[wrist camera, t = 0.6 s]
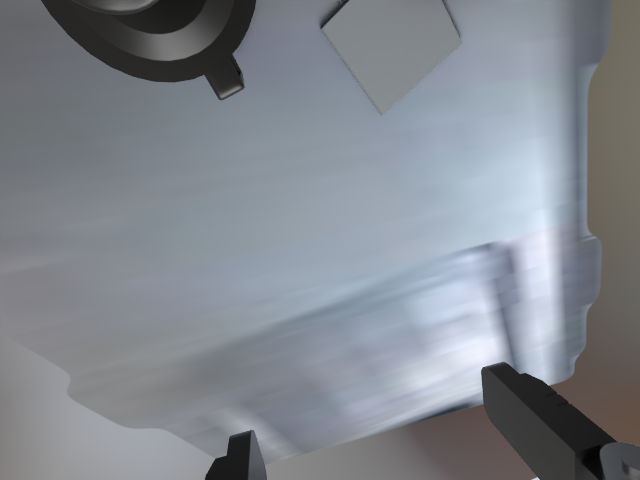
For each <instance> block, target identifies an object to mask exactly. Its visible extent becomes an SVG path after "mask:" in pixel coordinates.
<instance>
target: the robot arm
mask: <svg viewBox="0 0 640 480" xmlns="http://www.w3.org/2000/svg"><path fill="white" fill-rule="evenodd" d="M481 375H482V388H483V401H484V407H485V410H486V413H487V415H488V417H489V419H490V420H491V422H492V423H493V424H494V426H495V427H496V428H497V429H498V430H499V432H500V433H501V434H502V435H503V436H504V437H505V439H506V440H507V441H508V442H509V443H510V445H511V446H512V447H513V448H514V449H515V451H516V452H517V453H518V454H519V455H520V456H521V458H522V459H523V460H524V461H525V462H526V464H527V465H528V466H529V467H530V468H531V470H532V471H533V472H534V473H535V474H536V476H537V477H538V478H539V479H540V480H640V447H639V446H636V445H633V444H629V443H623V442H617V441H616V440H614V439H613V438H612V437H611V436H609V435H608V434H607V433H606V432H605V431H603V430H602V429H601V428H599V427H598V426H597V425H596V424H594V422H592V421H591V420H590V419H588V418H587V417H586V416H585V415H584V414H582V413H581V412H580V411H579V410H578V409H576V408H575V407H574V406H572V405H571V404H569V403H568V401H567V400H565V399H564V398H563V397H562V396H560V395H558V394H557V392H556V391H554V390H553V389H552V388H551V387H549V386H548V385H547V384H546V383H545V382H543V381H542V380H539V379H537V378H535V377H533V376H531V375H529V374H527V373H523V374H519V373H518V372H517V371H516V370H514V369H513V368H512V367H511V366H510V365H509V364H507V363H506V362H501V363H497V364H493V365H490V366H486V367H483V368H482V370H481ZM205 480H267V475H266V469H265V465H264V462H263V458H262V455H261V452H260V448H259V445H258V442H257V438H256V435H255V432H254V430H250V431H247V432H243V433H239V434H236V435H232V436H230V438H229V443H228V450H227V456H224V457H220V458H217V459H215V461H214V462H213V464H212V466H211V467H210V469H209V471H208V473H207V474H206V477H205Z"/></svg>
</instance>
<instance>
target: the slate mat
mask: <svg viewBox="0 0 640 480" xmlns="http://www.w3.org/2000/svg"><path fill="white" fill-rule="evenodd" d="M321 31H322V32H323V33H324V35H325V36H326V38H327V39H328V40H329V42H330V43H331V45H332V46H333V48H334V49H335V50H336V52H337V53H338V55H339V56H340V57H341V59H342V60H343V62H344V63H345V65H346V66H347V67H348V69H349V70H350V72H351V73H352V74H353V76H354V77H355V79H356V80H357V82H358V83H359V84H360V86H361V87H362V89H363V90H364V91H365V93H366V94H367V96H368V97H369V99H370V100H371V101H372V103H373V104H374V106H375V107H376V108H377V110H378V111H379V113H380V114H381V115H384V114H385V113H386V112H387V111H388V110H389V109H390V108H391V107H392V106H394V105H395V104H396V103H397V102H398V101H399V100H400V99H401V98H402V97H403V96H405V95H406V94H407V93H408V92H409V91H410V90H411V89H412V88H413V87H414V86H416V85H417V84H418V83H419V82H420V81H421V80H422V79H423V78H424V77H425V76H427V75H428V74H429V73H430V72H431V71H432V70H433V69H434V68H435V67H436V66H438V65H439V64H440V63H441V62H442V61H443V60H444V59H445V58H446V57H447V56H449V55H450V54H451V53H452V52H453V51H454V50H455V49H456V48H457V47H458V46H460V45H461V44H462V41H461V39H460V37H459V35H458V33H457V31H456V29H455V27H454V24H453V22H452V20H451V18H450V16H449V14H448V12H447V10H446V8H445V6H444V4H443V2H442V0H348V1H347V2H346V3H345V4H344V5H343V6H342V7H341V8H340V9H339V10H338V11H337V12H336V14H335V15H334V16H333V17H332V18H331V19H330V20H329V21H328V22H327V23H326V24H325V25H324V26H323V27H322V28H321Z"/></svg>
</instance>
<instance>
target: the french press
mask: <svg viewBox="0 0 640 480" xmlns="http://www.w3.org/2000/svg"><path fill="white" fill-rule="evenodd" d="M41 1H42V2H43V4H44V5H45V7H46V8H47V10H48V11H49V13H50V14H51V16H52V17H53V18H54V19H55V20H56V21H57V22H58V24H59V25H60V26H61V27H62V28H63V29H64V30H65V32H66V33H67V34H68V35H69V36H70V37H71V38H72V39H73V40H75V41H76V42H77V43H78V44H79V45H80V46H82V47H83V48H84V49H85V50H86V51H87V52H89V53H90V54H91V55H93V56H94V57H96V58H98V59H99V60H101V61H102V62H104V63H105V64H107V65H109V66H110V67H112V68H114V69H117V70H119V71H121V72H124V73H126V74H128V75H131V76H133V77H137V78H141V79H146V80H150V81H155V82H179V81H185V80H191V79H195V78H197V77H199V76H202V75H205V77H206V78H207V80H208V82H209V83H210V85H211V87H212V89H213V90H214V92H215V94H216V95H217V97H218V99H219V100H224V99H226V98H228V97H230V96H232V95H234V94H235V93H237V92H239V91H241V90H243V89H244V88H245V87H244V80H243V74H242V72H241V70H240V68H239V66H238V64H237V62H236V60H235V58H234V56H233V55H232V53H233V52H234V51H235V50H236V49H237V48H238V46H239V45H240V43H241V42H242V40H243V38H244V36H245V34H246V32H247V30H248V28H249V25H250V22H251V19H252V16H253V13H254V10H255V4H256V0H41Z"/></svg>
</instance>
